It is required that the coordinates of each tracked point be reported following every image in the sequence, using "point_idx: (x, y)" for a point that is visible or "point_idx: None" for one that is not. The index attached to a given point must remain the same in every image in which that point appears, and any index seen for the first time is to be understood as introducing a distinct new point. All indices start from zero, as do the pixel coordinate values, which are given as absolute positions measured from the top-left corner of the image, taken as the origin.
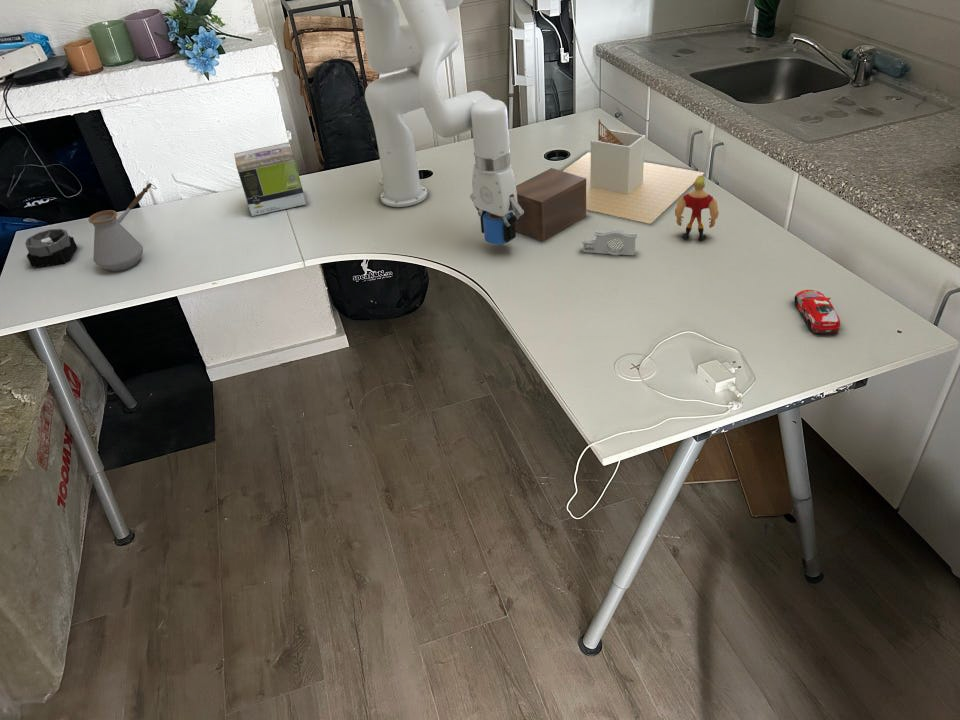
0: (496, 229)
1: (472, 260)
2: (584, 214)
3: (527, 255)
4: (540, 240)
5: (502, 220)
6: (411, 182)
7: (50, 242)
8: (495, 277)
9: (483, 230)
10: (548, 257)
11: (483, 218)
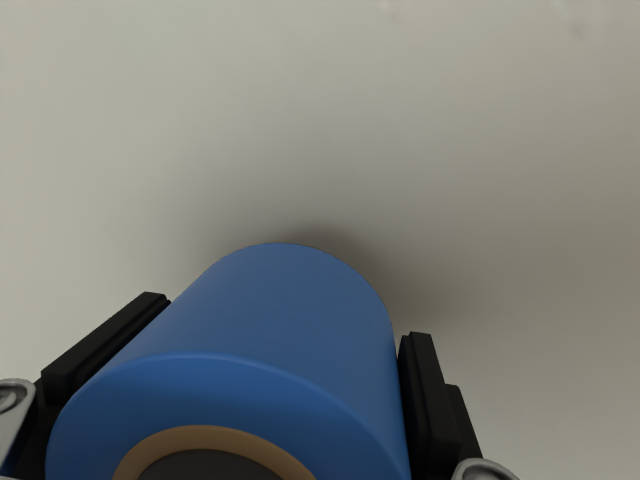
0: (156, 321)
1: (371, 104)
2: None
3: None
4: None
5: (63, 441)
6: None
7: None
8: (94, 7)
9: (410, 344)
10: (43, 348)
11: (324, 394)
